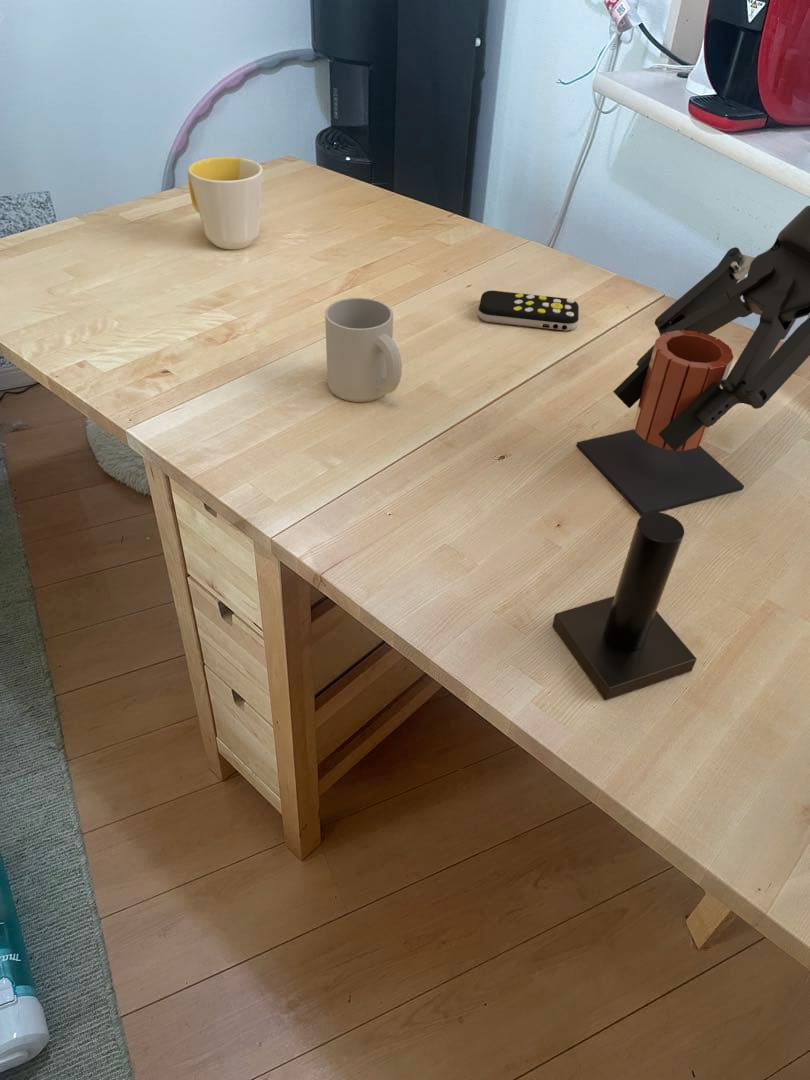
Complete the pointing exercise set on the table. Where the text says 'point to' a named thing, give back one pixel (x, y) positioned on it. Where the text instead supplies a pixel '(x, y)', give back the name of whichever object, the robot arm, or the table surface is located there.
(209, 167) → the mug
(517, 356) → the table surface
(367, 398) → the cup
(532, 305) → the remote control
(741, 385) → the robot arm
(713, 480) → the mat
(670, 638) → the post stand
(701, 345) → the sleeve ring
